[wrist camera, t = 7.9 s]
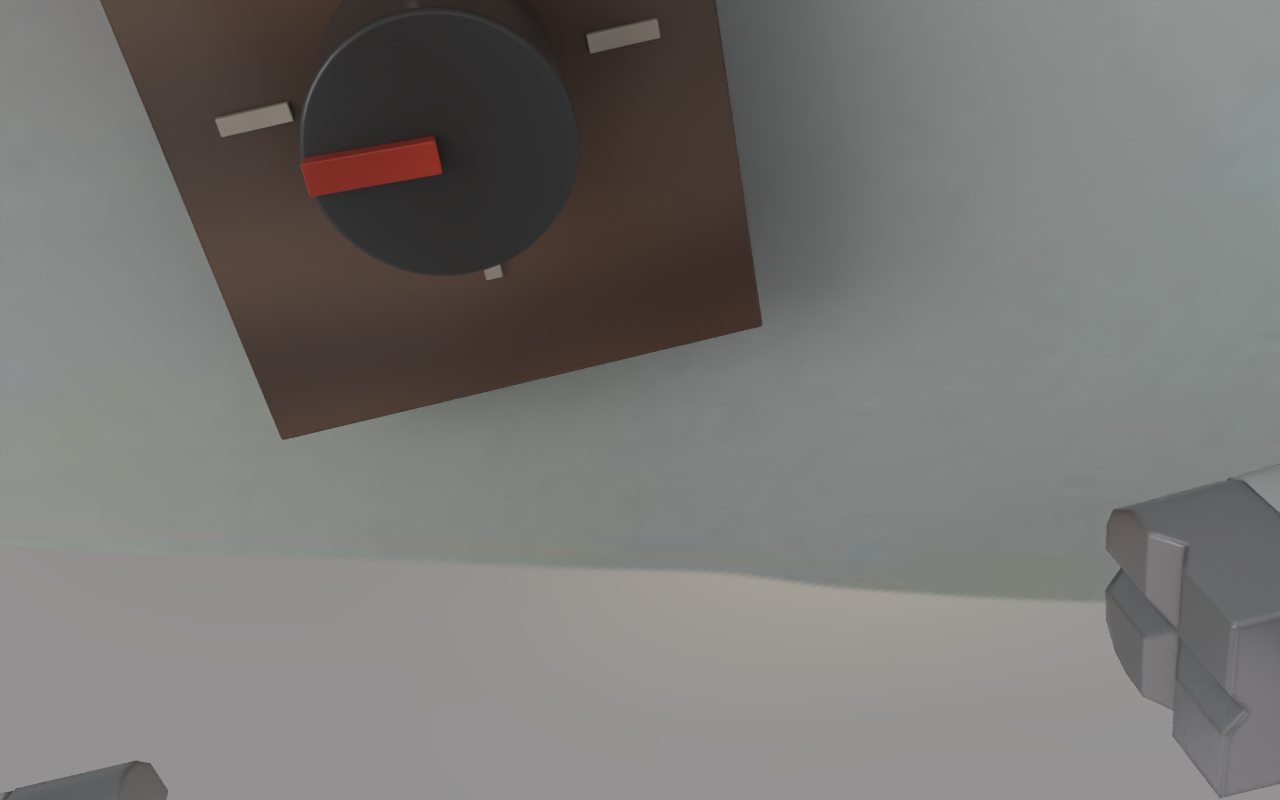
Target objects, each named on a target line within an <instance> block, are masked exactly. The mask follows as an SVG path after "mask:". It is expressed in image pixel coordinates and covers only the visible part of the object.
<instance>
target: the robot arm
mask: <svg viewBox="0 0 1280 800" xmlns="http://www.w3.org/2000/svg"><path fill="white" fill-rule="evenodd" d="M1106 549H1107V551H1108V552H1109V553H1110V554H1111V555H1112V557H1113V558H1114V559H1115V560H1116V561H1117V563H1118V564H1119V565H1120V566H1121V568H1120V570H1119V571H1118V573H1117V574H1116V576H1115V577H1114V578H1113V580H1112V581H1111V583H1110V584H1109V585H1108V587H1107V588H1106V590H1105V593H1106V621H1107V624H1108V628H1109V632H1110V635H1111V639H1112V642H1113V646H1114V649H1115V652H1116V654H1117V656H1118V658H1119V660H1120V662H1121V664H1122V666H1123V668H1124V670H1125V672H1126V674H1127V675H1128V677H1129V678H1130V679H1131V681H1132V682H1133V683H1134V685H1135V686H1136V688H1137V689H1138V690H1139V692H1140V693H1141V694H1142V696H1143V697H1145V698H1147V699H1150V700H1152V701H1154V702H1156V703H1158V704H1161V705H1163V706H1165V707H1167V708H1170V709H1172V710H1174V715H1173V737H1174V738H1175V740H1176V741H1177V743H1178V744H1179V745H1180V746H1181V748H1182V749H1183V750H1184V752H1185V753H1186V754H1187V756H1188V757H1189V758H1190V760H1191V761H1192V762H1193V764H1194V765H1195V766H1196V767H1197V769H1198V770H1199V771H1200V773H1201V774H1202V775H1203V777H1204V778H1205V779H1206V781H1207V782H1208V783H1209V784H1210V786H1211V787H1212V788H1213V790H1214V791H1215V792H1216V794H1217V795H1218V796H1219V798H1222V797H1226V796H1230V795H1235V794H1239V793H1243V792H1247V791H1252V790H1256V789H1259V788H1264V787H1268V786H1272V785H1277V784H1280V464H1278V465H1274V466H1271V467H1267V468H1263V469H1260V470H1256V471H1253V472H1249V473H1245V474H1242V475H1238V476H1235V477H1231V478H1229V479H1227V480H1226V481H1220V482H1216V483H1212V484H1209V485H1205V486H1201V487H1197V488H1194V489H1190V490H1186V491H1182V492H1178V493H1175V494H1171V495H1167V496H1163V497H1160V498H1156V499H1152V500H1148V501H1144V502H1141V503H1137V504H1133V505H1129V506H1125V507H1122V508H1118V509H1114V510H1113V511H1112V513H1111V516H1110V518H1109V521H1108V523H1107V535H1106ZM167 793H168V790H167V788H166V787H165V785H164V784H163V782H162V781H161V779H160V778H159V776H158V774H157V773H156V771H155V770H154V768H153V767H152V765H151V764H150V763H145V762H140V761H133V762H128V763H124V764H120V765H116V766H111V767H107V768H102V769H98V770H94V771H90V772H86V773H81V774H77V775H72V776H68V777H64V778H59V779H55V780H51V781H47V782H42V783H38V784H34V785H29V786H25V787H21V788H17V789H15V790H14V791H10V792H5V793H1V794H0V800H166V798H167Z"/></svg>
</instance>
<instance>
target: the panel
mask: <svg viewBox="0 0 1280 800" xmlns="http://www.w3.org/2000/svg"><path fill="white" fill-rule="evenodd" d="M100 1H101V3H102V6H103V8H104V10H105V13H106V15H107V18H108V20H109V23H110V25H111V27H112V30H113V32H114V35H115V37H116V40H117V42H118V44H119V47H120V49H121V52H122V54H123V56H124V59H125V61H126V64H127V66H128V69H129V71H130V73H131V76H132V78H133V81H134V83H135V86H136V88H137V90H138V93H139V95H140V98H141V100H142V102H143V105H144V107H145V110H146V112H147V115H148V117H149V119H150V122H151V124H152V127H153V129H154V132H155V134H156V136H157V139H158V141H159V144H160V146H161V148H162V151H163V153H164V156H165V158H166V161H167V163H168V165H169V168H170V170H171V173H172V175H173V177H174V180H175V182H176V185H177V187H178V190H179V192H180V194H181V197H182V199H183V202H184V204H185V207H186V209H187V211H188V214H189V216H190V219H191V221H192V223H193V226H194V228H195V231H196V233H197V236H198V238H199V240H200V243H201V245H202V248H203V250H204V253H205V255H206V257H207V260H208V262H209V265H210V267H211V269H212V272H213V274H214V277H215V279H216V282H217V284H218V286H219V289H220V291H221V294H222V296H223V299H224V301H225V303H226V306H227V308H228V311H229V313H230V315H231V318H232V320H233V323H234V325H235V328H236V330H237V332H238V335H239V337H240V340H241V342H242V344H243V347H244V349H245V352H246V354H247V357H248V359H249V361H250V364H251V366H252V369H253V371H254V374H255V376H256V378H257V381H258V383H259V386H260V388H261V390H262V393H263V395H264V398H265V400H266V403H267V405H268V407H269V410H270V412H271V415H272V417H273V420H274V422H275V424H276V427H277V429H278V432H279V434H280V436H281V438H282V439H283V440H285V439H289V438H293V437H297V436H302V435H306V434H310V433H314V432H318V431H323V430H327V429H331V428H335V427H339V426H344V425H348V424H352V423H356V422H361V421H365V420H369V419H373V418H377V417H382V416H386V415H390V414H394V413H398V412H403V411H407V410H411V409H415V408H419V407H424V406H428V405H432V404H436V403H441V402H445V401H449V400H453V399H457V398H462V397H466V396H470V395H474V394H478V393H483V392H487V391H491V390H495V389H499V388H504V387H508V386H512V385H516V384H521V383H525V382H529V381H533V380H537V379H542V378H546V377H550V376H554V375H558V374H563V373H567V372H571V371H575V370H579V369H584V368H588V367H592V366H596V365H601V364H605V363H609V362H613V361H617V360H622V359H626V358H630V357H634V356H638V355H643V354H647V353H651V352H655V351H659V350H664V349H668V348H672V347H676V346H681V345H685V344H689V343H693V342H697V341H702V340H706V339H710V338H714V337H718V336H723V335H727V334H731V333H735V332H739V331H744V330H748V329H752V328H756V327H760V326H762V319H761V312H760V305H759V298H758V291H757V284H756V277H755V270H754V263H753V256H752V249H751V242H750V236H749V229H748V222H747V215H746V208H745V201H744V194H743V187H742V180H741V173H740V166H739V159H738V152H737V146H736V139H735V132H734V125H733V118H732V111H731V104H730V97H729V90H728V83H727V76H726V69H725V62H724V55H723V49H722V42H721V35H720V28H719V21H718V14H717V7H716V0H526V1H527V2H528V3H529V4H530V6H531V7H532V8H533V10H534V11H535V13H536V14H537V16H538V17H539V19H540V21H541V23H542V25H543V27H544V29H545V31H546V34H547V37H548V39H549V42H550V45H551V47H552V50H553V53H554V56H555V58H556V61H557V64H558V67H559V69H560V72H561V75H562V78H563V80H564V83H565V86H566V89H567V91H568V94H569V97H570V100H571V102H572V105H573V108H574V112H575V116H576V121H577V125H578V135H579V160H578V166H577V171H576V177H575V180H574V183H573V186H572V189H571V193H570V195H569V197H568V199H567V201H566V203H565V205H564V207H563V209H562V211H561V212H560V214H559V215H558V217H557V218H556V220H555V222H554V223H553V224H552V225H551V226H550V228H549V229H548V230H547V231H546V232H545V233H544V235H543V236H542V237H540V238H539V239H538V240H537V241H536V242H535V243H534V244H533V245H532V246H530V247H529V248H528V249H526V250H525V251H523V252H522V253H520V254H519V255H518V256H516V257H514V258H512V259H510V260H508V261H506V262H504V263H503V264H500V265H497V266H495V267H492V268H490V269H487V270H483V271H479V272H475V273H471V274H464V275H456V276H432V275H423V274H417V273H413V272H408V271H404V270H401V269H398V268H395V267H392V266H390V265H387V264H384V263H382V262H380V261H379V260H377V259H375V258H373V257H371V256H369V255H367V254H366V253H364V252H363V251H361V250H360V249H358V248H357V247H355V246H354V245H353V244H352V243H350V242H349V241H348V240H347V239H346V238H345V237H344V236H342V235H341V234H340V233H339V232H338V231H337V229H336V228H335V227H334V226H333V225H332V224H331V223H330V222H329V221H328V219H327V218H326V216H325V215H324V213H323V212H322V210H321V209H320V208H319V206H318V204H317V202H316V200H315V199H314V197H310V196H309V194H308V190H307V187H306V183H305V180H304V176H303V173H302V170H301V166H300V165H301V157H300V148H299V124H300V116H301V111H302V106H303V102H304V99H305V96H306V93H307V90H308V87H309V84H310V81H311V78H312V75H313V72H314V69H315V66H316V63H317V60H318V57H319V54H320V51H321V48H322V45H323V42H324V39H325V36H326V33H327V30H328V28H329V25H330V22H331V20H332V18H333V16H334V14H335V13H336V11H337V9H338V7H339V6H340V5H341V3H342V2H343V0H100Z"/></svg>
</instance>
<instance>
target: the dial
mask: <svg viewBox="0 0 1280 800" xmlns="http://www.w3.org/2000/svg"><path fill="white" fill-rule="evenodd" d="M299 148H300V157H301V165H300V166H301V170H302V173H303V176H304V180H305V183H306V187H307V190H308V194H309V196H310V197H314V199H315V200H316V202H317V204H318V206H319V208H320V209H321V210H322V212H323V213H324V215H325V216H326V218H327V219H328V221H329V222H330V223H331V224H332V225H333V226H334V227H335V228H336V229H337V231H338V232H339V233H340V234H341V235H342V236H344V237H345V238H346V239H347V240H348V241H349V242H350V243H352V244H353V245H354V246H355V247H357V248H358V249H360V250H361V251H363V252H364V253H366V254H367V255H369V256H371V257H373V258H375V259H377V260H379V261H380V262H382V263H384V264H387V265H390V266H392V267H395V268H398V269H401V270H404V271H408V272H413V273H417V274H423V275H432V276H456V275H464V274H471V273H475V272H479V271H483V270H487V269H490V268H492V267H495V266H497V265H500V264H503V263H504V262H506V261H508V260H510V259H512V258H514V257H516V256H518V255H519V254H520V253H522V252H523V251H525V250H526V249H528V248H529V247H530V246H532V245H533V244H534V243H535V242H536V241H537V240H538V239H539V238H540V237H542V236H543V235H544V233H545V232H546V231H547V230H548V229H549V228H550V226H551V225H552V224H553V223H554V222H555V220H556V218H557V217H558V215H559V214H560V212H561V211H562V209H563V207H564V205H565V203H566V201H567V199H568V197H569V195H570V193H571V189H572V186H573V183H574V180H575V177H576V171H577V166H578V160H579V135H578V125H577V121H576V116H575V112H574V108H573V105H572V102H571V100H570V97H569V94H568V91H567V89H566V86H565V83H564V80H563V78H562V75H561V72H560V69H559V67H558V64H557V61H556V58H555V56H554V53H553V50H552V47H551V45H550V42H549V39H548V37H547V34H546V31H545V29H544V27H543V25H542V23H541V21H540V19H539V17H538V16H537V14H536V13H535V11H534V10H533V8H532V7H531V6H530V4H529V3H528V2H527V1H526V0H343V2H342V3H341V5H340V6H339V7H338V9H337V11H336V13H335V14H334V16H333V18H332V20H331V22H330V25H329V28H328V30H327V33H326V36H325V39H324V42H323V45H322V48H321V51H320V54H319V57H318V60H317V63H316V66H315V69H314V72H313V75H312V78H311V81H310V84H309V87H308V90H307V93H306V96H305V99H304V102H303V106H302V111H301V116H300V124H299Z"/></svg>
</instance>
